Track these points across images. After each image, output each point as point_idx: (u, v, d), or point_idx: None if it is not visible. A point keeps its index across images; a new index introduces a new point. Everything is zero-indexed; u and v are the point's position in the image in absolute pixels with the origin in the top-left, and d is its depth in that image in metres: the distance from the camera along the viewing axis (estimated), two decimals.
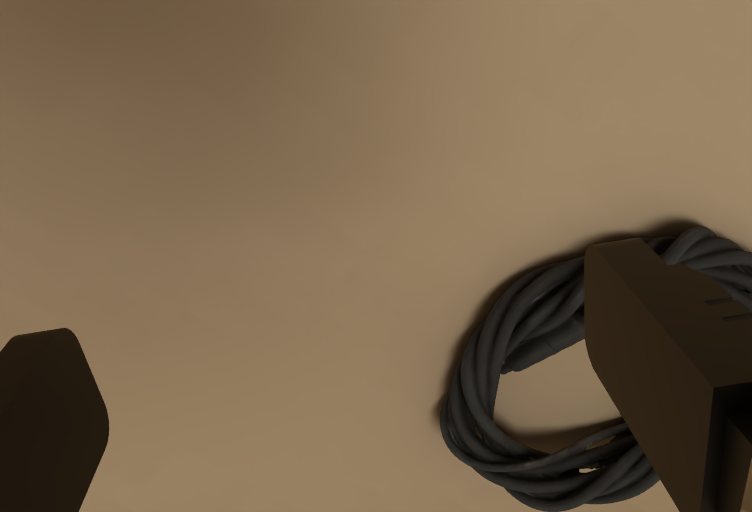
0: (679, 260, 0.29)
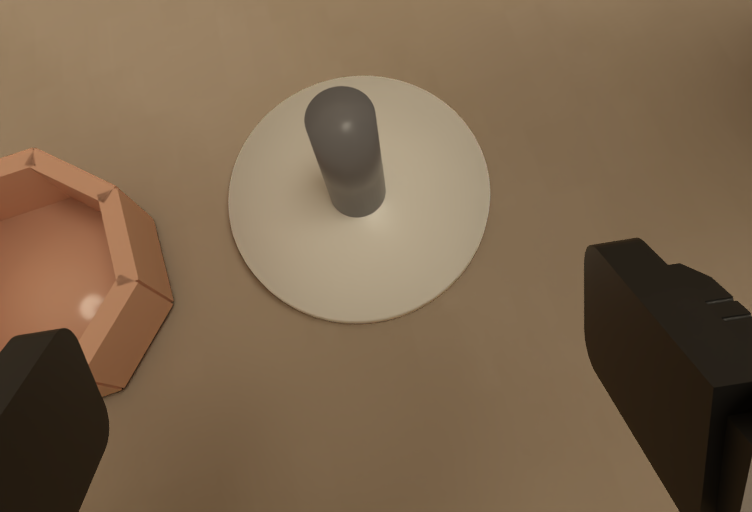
0: None
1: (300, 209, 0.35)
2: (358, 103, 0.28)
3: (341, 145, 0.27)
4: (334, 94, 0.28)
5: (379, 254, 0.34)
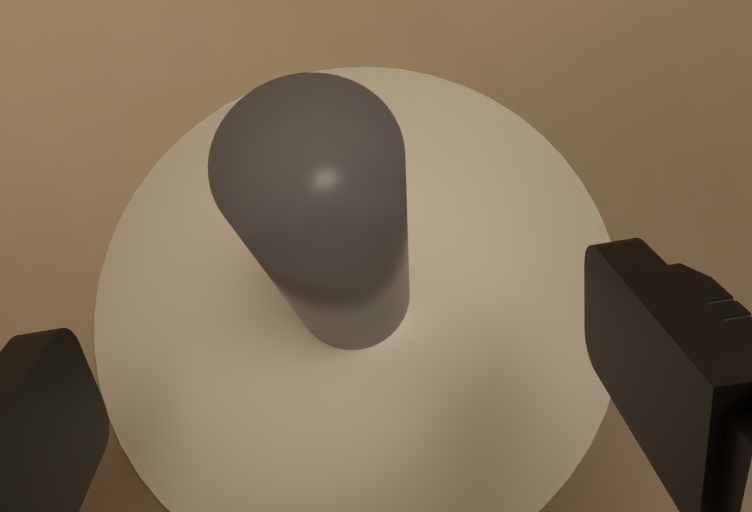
0: None
1: (237, 330, 0.17)
2: (357, 119, 0.10)
3: (309, 238, 0.10)
4: (292, 94, 0.10)
5: (398, 432, 0.16)
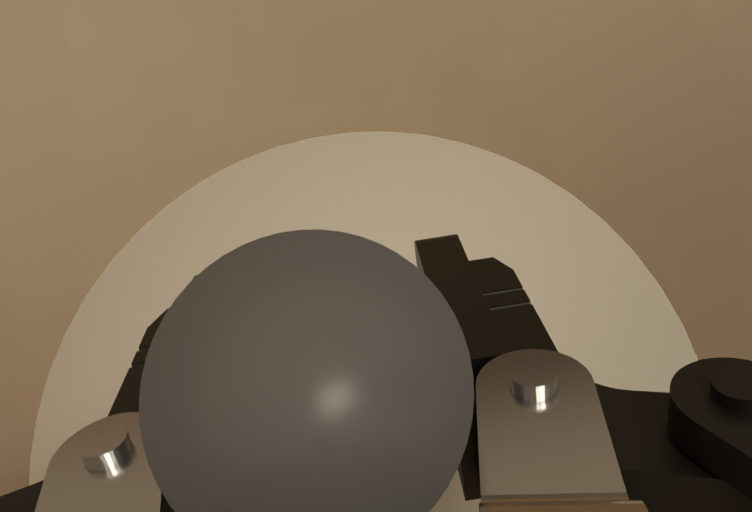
0: None
1: None
2: (390, 315, 0.06)
3: None
4: (282, 268, 0.06)
5: None
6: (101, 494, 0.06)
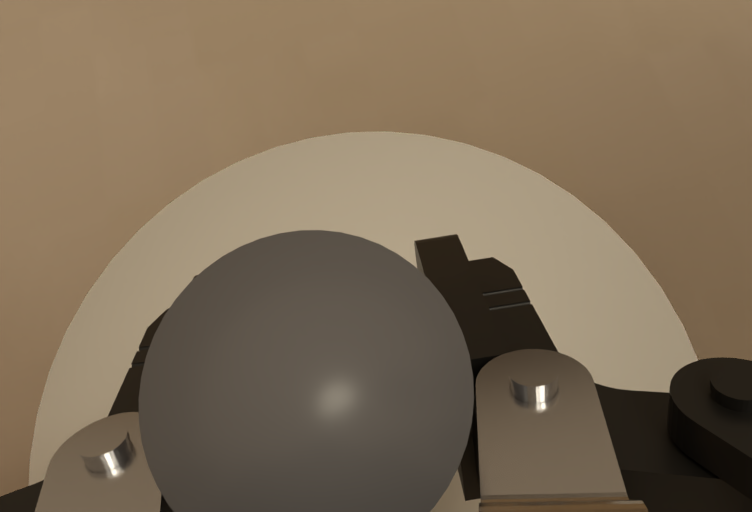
0: None
1: None
2: (390, 316, 0.06)
3: None
4: (282, 269, 0.06)
5: None
6: (101, 493, 0.06)
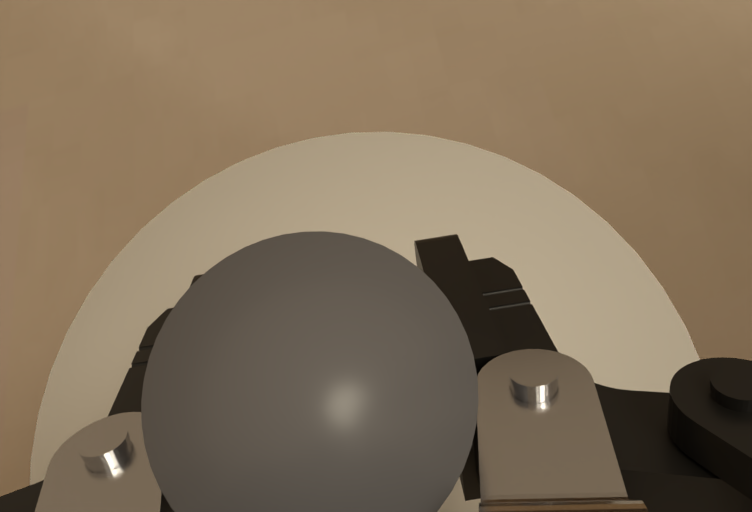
0: None
1: None
2: (394, 318, 0.06)
3: None
4: (285, 270, 0.06)
5: None
6: (101, 494, 0.06)
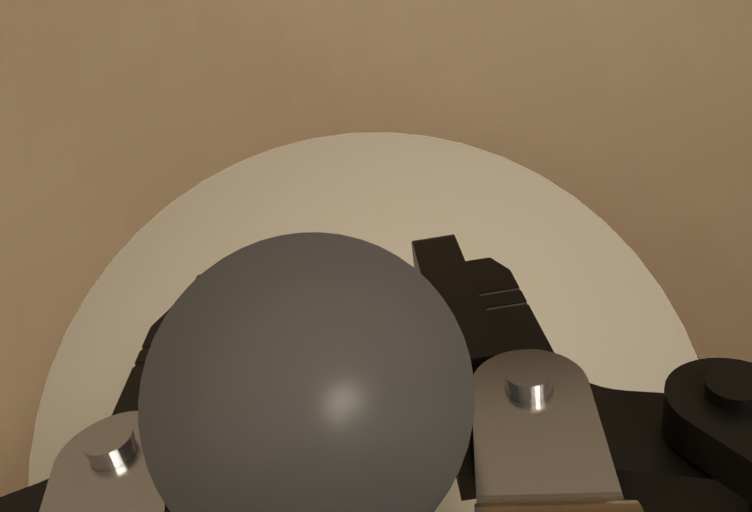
0: None
1: None
2: (391, 318, 0.06)
3: None
4: (282, 271, 0.06)
5: None
6: (105, 493, 0.06)
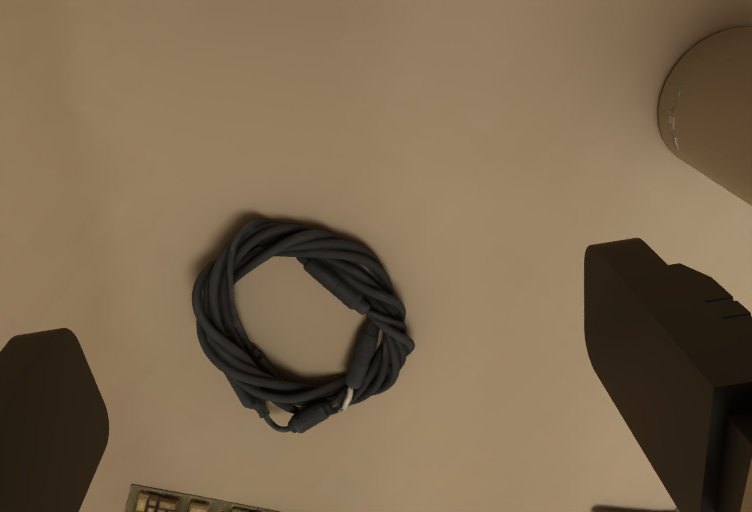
0: (399, 344, 0.48)
1: None
2: None
3: None
4: None
5: None
6: None
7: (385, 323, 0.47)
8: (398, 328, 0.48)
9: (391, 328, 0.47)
